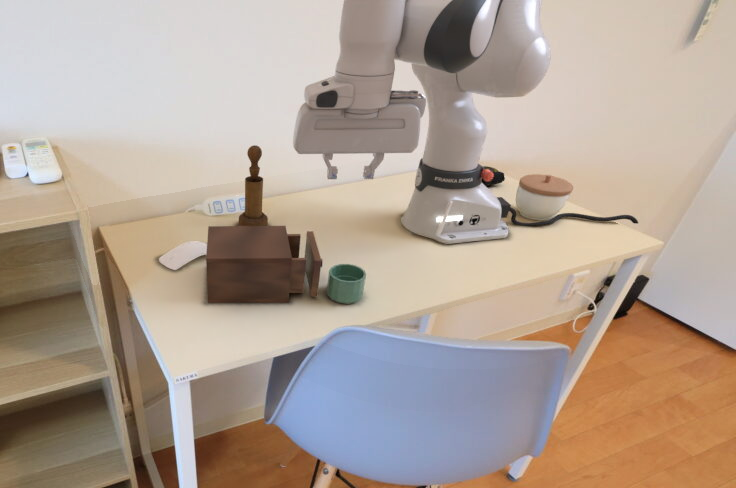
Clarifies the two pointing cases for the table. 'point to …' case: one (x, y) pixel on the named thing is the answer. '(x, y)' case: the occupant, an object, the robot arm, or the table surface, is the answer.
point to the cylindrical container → (346, 283)
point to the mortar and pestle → (253, 193)
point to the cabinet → (248, 264)
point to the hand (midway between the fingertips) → (349, 178)
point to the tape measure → (496, 179)
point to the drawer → (304, 264)
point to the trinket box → (542, 196)
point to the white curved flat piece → (183, 254)
